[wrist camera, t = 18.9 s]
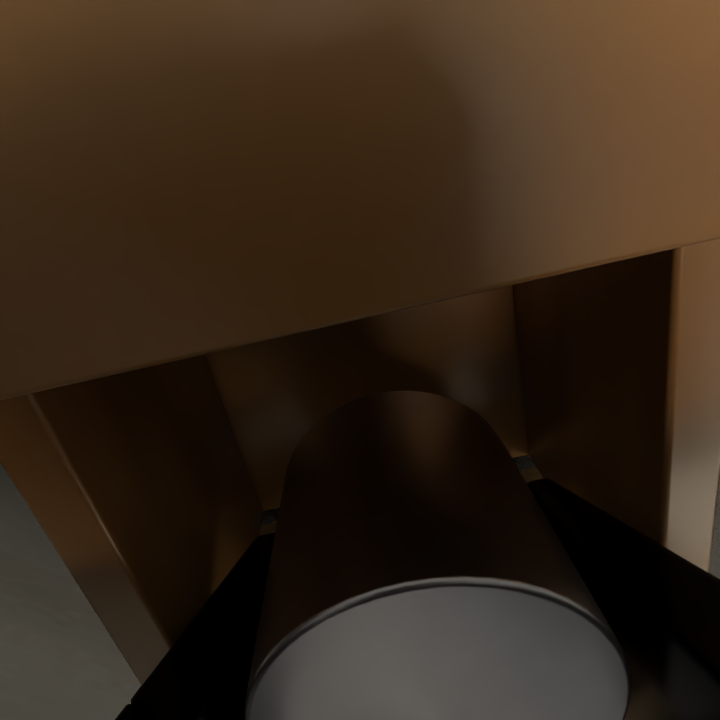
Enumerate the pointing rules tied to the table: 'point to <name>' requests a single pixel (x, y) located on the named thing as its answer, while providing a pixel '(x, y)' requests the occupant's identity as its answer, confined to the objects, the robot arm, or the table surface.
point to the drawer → (363, 378)
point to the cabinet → (329, 163)
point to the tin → (423, 581)
